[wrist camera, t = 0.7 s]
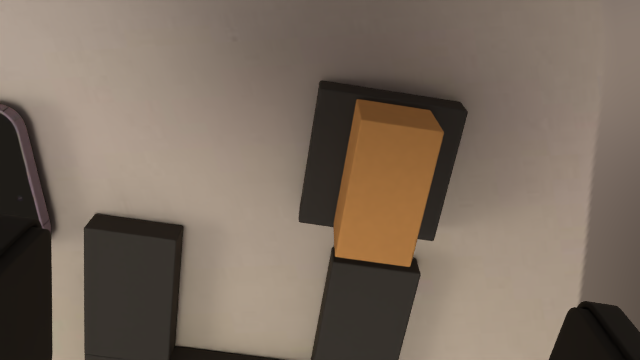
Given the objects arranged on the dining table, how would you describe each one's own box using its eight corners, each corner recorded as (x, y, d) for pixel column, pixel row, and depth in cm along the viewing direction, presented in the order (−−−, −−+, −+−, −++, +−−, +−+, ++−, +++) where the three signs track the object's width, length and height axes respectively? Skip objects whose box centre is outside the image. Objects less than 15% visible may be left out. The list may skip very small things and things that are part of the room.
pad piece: (320, 79, 25) (319, 107, 21) (460, 101, 26) (487, 133, 22) (299, 208, 28) (295, 256, 24) (428, 227, 28) (446, 277, 24)
